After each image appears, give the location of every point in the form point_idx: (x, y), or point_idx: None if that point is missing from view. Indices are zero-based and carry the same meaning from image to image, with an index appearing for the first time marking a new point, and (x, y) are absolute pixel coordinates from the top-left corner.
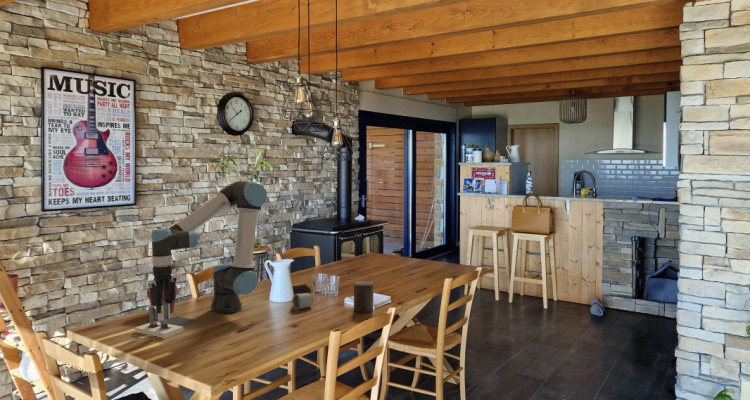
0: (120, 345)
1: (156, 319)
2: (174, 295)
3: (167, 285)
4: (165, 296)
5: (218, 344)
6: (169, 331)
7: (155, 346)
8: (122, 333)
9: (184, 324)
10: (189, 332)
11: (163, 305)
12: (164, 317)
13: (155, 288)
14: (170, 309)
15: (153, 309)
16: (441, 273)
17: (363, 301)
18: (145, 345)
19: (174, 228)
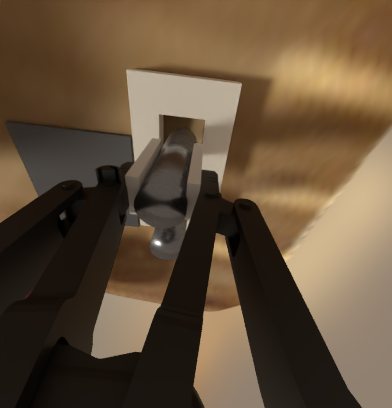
0: (316, 189)
1: None
2: (37, 202)
3: (40, 357)
4: (116, 241)
5: None
6: (207, 84)
7: (329, 50)
8: (220, 245)
9: (74, 135)
10: (119, 33)
11: (179, 186)
12: (186, 149)
13: (314, 387)
14: (128, 162)
15: (176, 234)
16: None
17: None
18: (316, 108)
19: None
